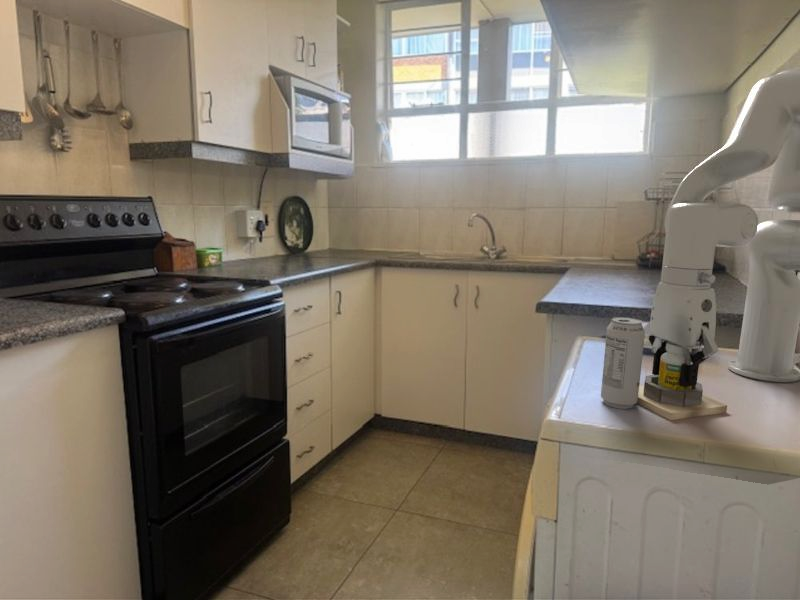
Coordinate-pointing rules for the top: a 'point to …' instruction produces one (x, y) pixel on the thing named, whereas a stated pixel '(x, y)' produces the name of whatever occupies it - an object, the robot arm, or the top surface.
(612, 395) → the energy drink can
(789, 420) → the top surface
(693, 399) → the collar
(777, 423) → the top surface
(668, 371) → the supplement bottle
